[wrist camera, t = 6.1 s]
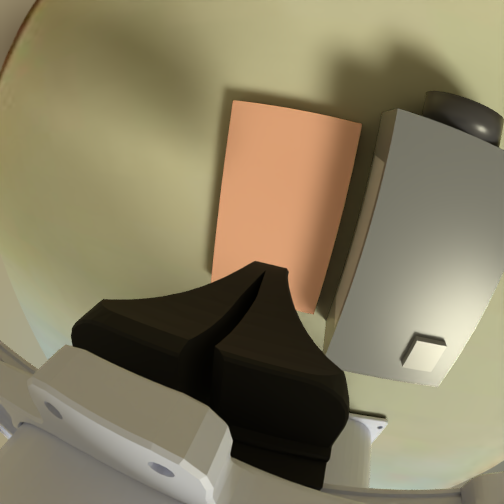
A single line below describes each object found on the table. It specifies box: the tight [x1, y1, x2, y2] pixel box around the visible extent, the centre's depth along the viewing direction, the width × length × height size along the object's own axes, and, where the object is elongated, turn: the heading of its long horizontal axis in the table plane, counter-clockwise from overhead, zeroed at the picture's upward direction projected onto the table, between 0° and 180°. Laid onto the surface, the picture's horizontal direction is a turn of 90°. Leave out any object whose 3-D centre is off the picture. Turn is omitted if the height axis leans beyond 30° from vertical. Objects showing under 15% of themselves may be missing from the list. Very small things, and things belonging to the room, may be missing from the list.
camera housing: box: [323, 91, 504, 387], centre depth 15 cm, size 16×8×5 cm, turn 171°
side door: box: [211, 100, 362, 314], centre depth 18 cm, size 12×1×7 cm
